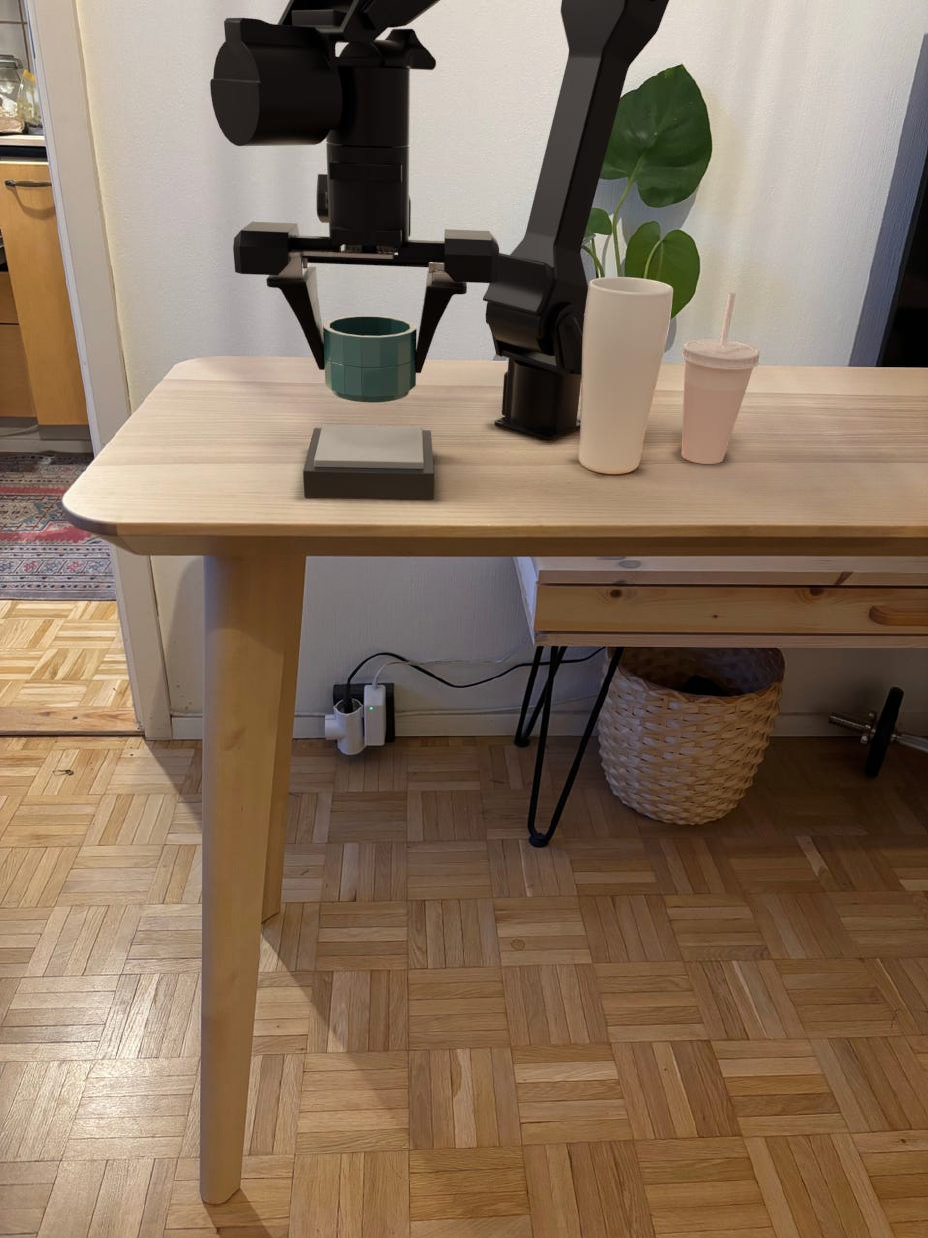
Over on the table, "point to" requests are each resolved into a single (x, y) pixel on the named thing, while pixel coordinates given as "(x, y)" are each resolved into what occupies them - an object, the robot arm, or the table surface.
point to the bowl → (370, 357)
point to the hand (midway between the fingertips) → (370, 370)
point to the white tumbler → (620, 368)
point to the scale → (369, 462)
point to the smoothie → (714, 392)
